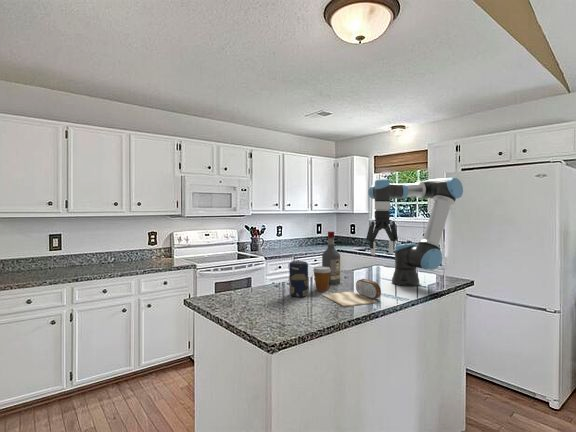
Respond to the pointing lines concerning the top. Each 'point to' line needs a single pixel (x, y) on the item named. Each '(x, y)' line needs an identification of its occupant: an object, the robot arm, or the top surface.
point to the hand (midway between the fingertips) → (382, 254)
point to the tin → (368, 288)
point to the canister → (298, 278)
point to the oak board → (348, 299)
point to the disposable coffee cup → (321, 277)
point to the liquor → (332, 260)
